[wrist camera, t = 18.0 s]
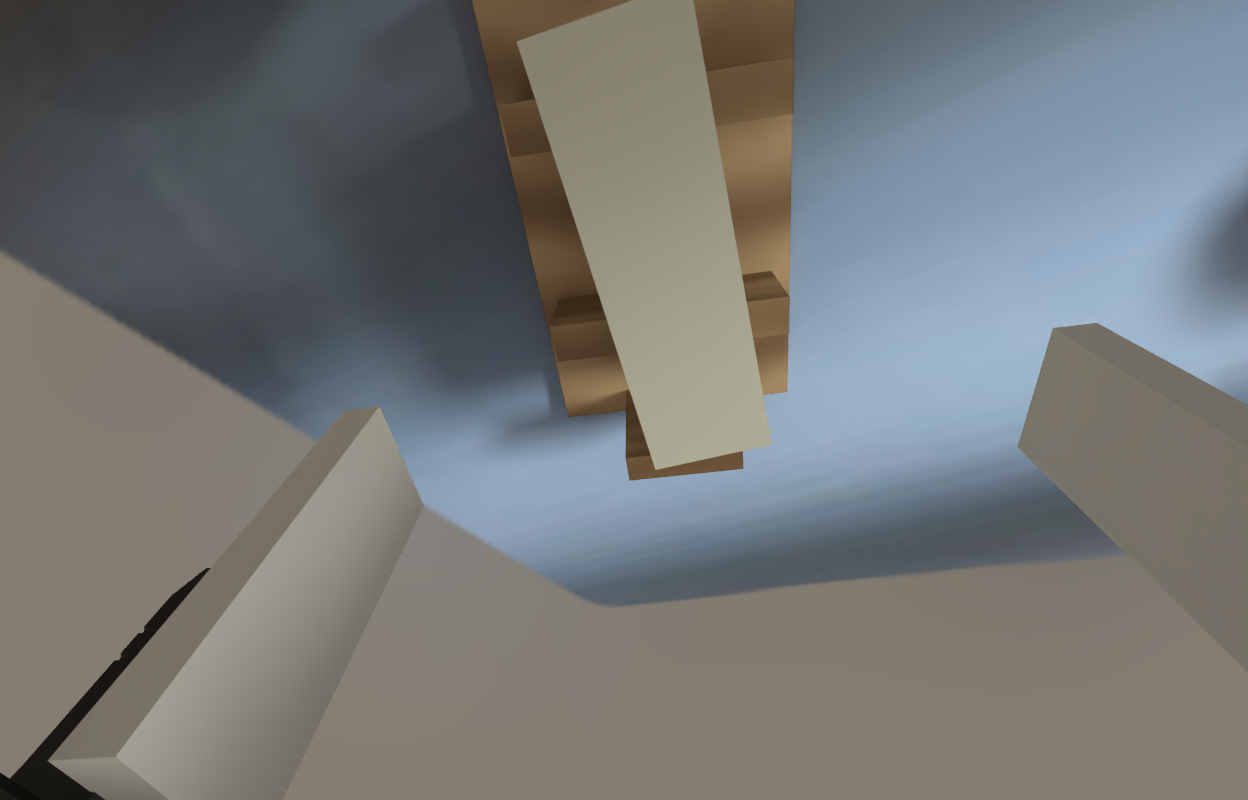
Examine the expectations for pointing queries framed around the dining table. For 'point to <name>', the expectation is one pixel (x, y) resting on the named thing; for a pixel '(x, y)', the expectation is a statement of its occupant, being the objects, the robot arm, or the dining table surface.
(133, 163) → the dining table surface
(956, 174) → the dining table surface
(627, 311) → the block
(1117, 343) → the robot arm
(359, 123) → the dining table surface
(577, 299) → the rack
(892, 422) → the dining table surface
